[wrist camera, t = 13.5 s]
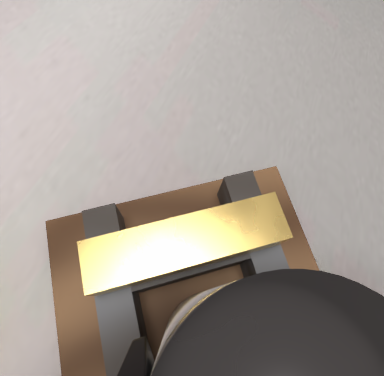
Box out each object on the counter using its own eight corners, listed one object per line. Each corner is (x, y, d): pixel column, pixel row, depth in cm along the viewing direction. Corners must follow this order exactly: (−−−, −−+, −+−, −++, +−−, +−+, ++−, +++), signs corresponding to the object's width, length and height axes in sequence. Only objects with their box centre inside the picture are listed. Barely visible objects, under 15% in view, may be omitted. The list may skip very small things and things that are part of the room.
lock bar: (279, 244, 16) (293, 237, 14) (96, 296, 14) (84, 295, 12) (263, 203, 16) (275, 191, 15) (89, 248, 15) (76, 241, 13)
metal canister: (273, 342, 15) (571, 469, 4) (208, 417, 14) (364, 963, 2) (211, 273, 16) (296, 208, 5) (145, 336, 15) (51, 453, 3)
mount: (392, 467, 16) (457, 516, 12) (91, 596, 13) (61, 704, 10) (272, 170, 22) (292, 145, 18) (50, 224, 19) (22, 207, 16)
